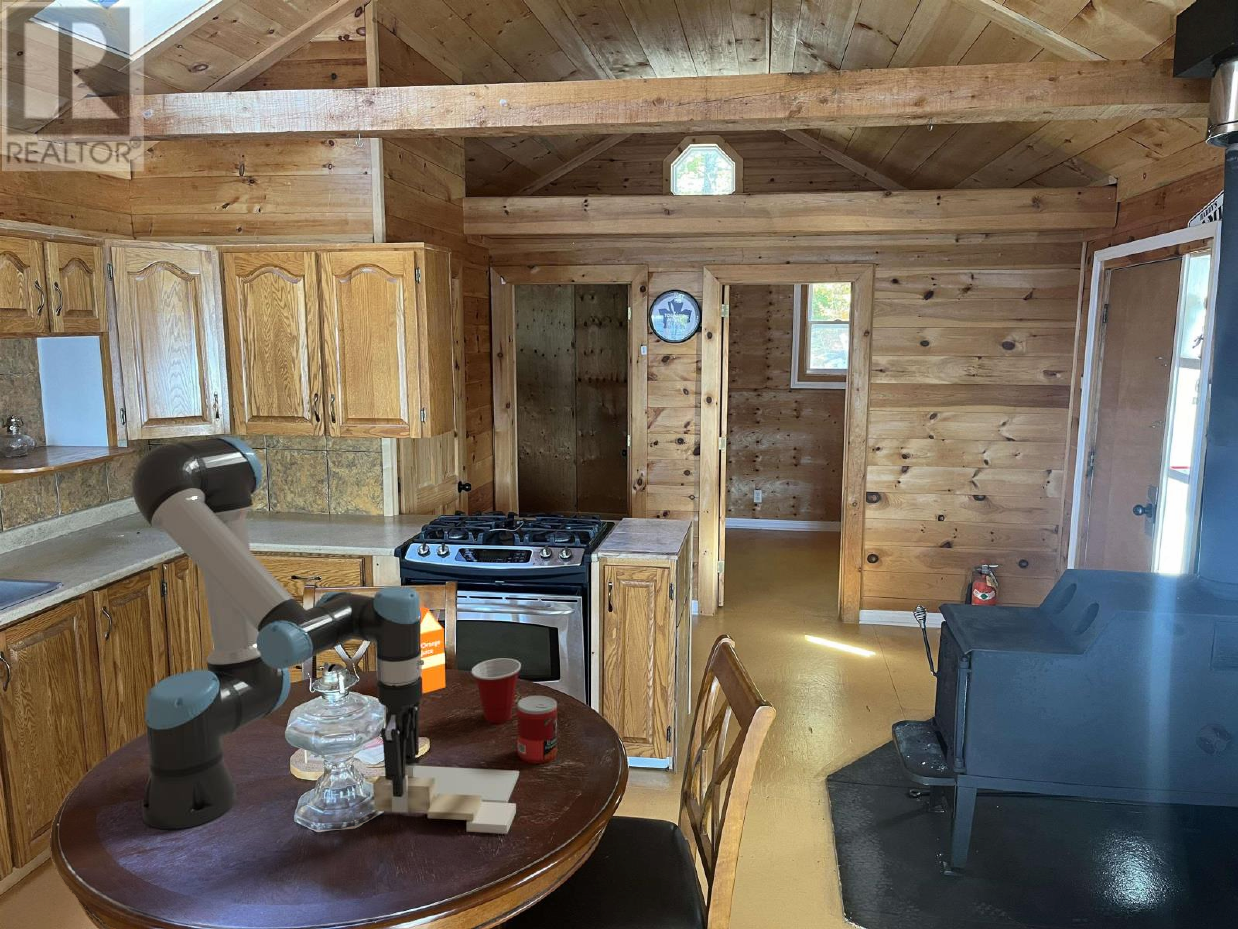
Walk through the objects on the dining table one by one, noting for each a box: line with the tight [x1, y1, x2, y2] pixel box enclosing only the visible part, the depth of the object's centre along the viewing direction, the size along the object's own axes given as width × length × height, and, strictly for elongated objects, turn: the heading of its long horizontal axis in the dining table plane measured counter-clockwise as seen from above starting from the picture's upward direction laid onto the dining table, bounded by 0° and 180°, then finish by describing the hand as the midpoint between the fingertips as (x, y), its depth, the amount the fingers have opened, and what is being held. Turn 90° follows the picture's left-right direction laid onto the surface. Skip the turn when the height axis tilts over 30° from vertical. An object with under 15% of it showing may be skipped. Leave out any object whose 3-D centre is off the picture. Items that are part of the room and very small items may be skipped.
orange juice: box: [420, 604, 446, 694], centre depth 213 cm, size 8×9×20 cm
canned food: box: [516, 695, 558, 764], centre depth 179 cm, size 8×8×11 cm
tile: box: [466, 802, 517, 835], centre depth 155 cm, size 2×7×7 cm
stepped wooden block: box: [372, 775, 482, 821], centre depth 156 cm, size 18×6×5 cm, turn 84°
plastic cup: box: [471, 657, 522, 724], centre depth 195 cm, size 11×11×12 cm
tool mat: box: [415, 765, 520, 803], centre depth 167 cm, size 24×11×1 cm, turn 85°
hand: (403, 805), depth 156 cm, fingers closed on stepped wooden block, 3 cm apart
